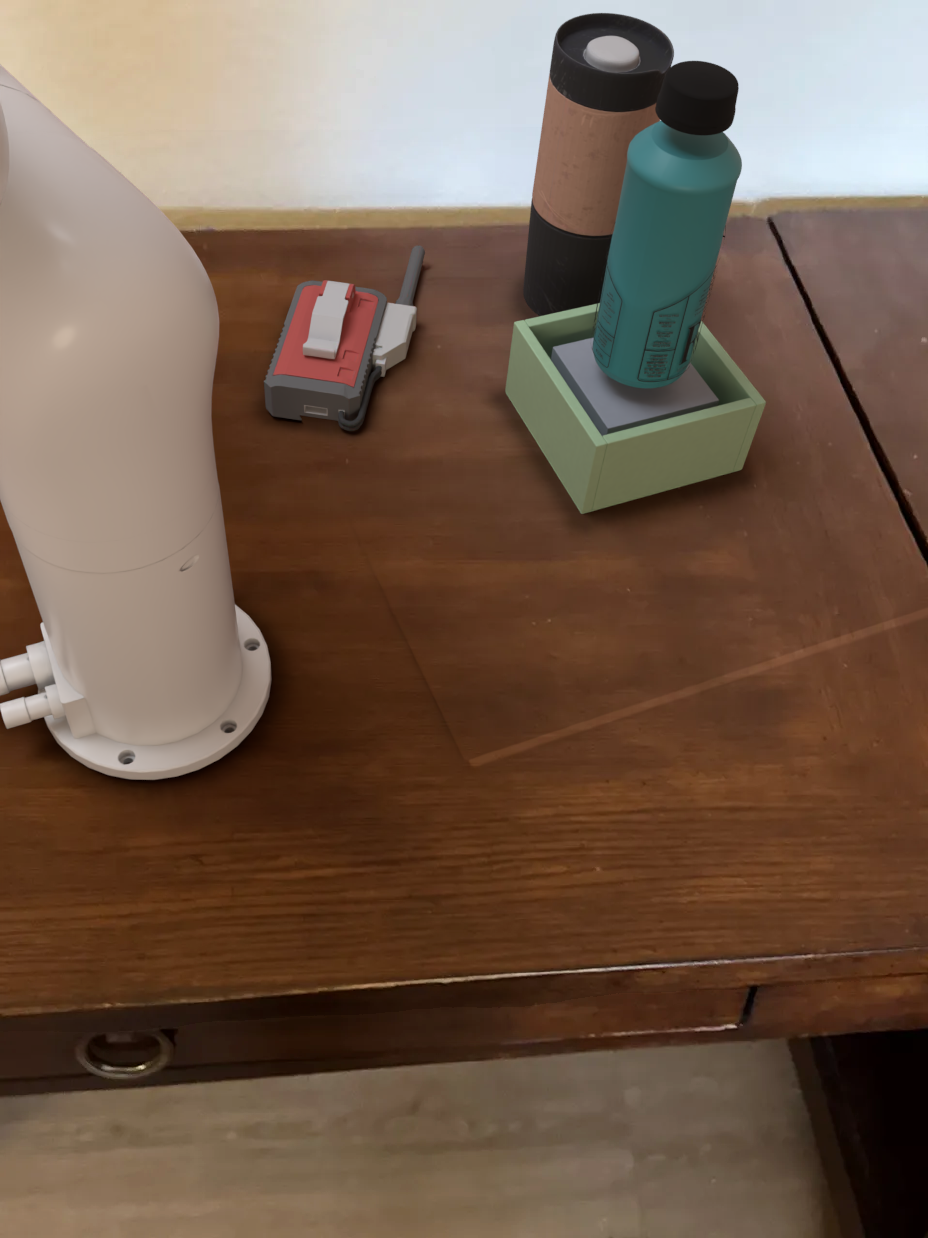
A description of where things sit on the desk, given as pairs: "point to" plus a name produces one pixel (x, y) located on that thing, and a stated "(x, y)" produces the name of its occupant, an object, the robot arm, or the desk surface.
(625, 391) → the block
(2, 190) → the robot arm
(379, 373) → the walkie-talkie
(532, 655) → the desk surface
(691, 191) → the beverage bottle
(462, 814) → the desk surface
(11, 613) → the desk surface
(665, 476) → the crate
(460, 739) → the desk surface
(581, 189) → the travel mug
